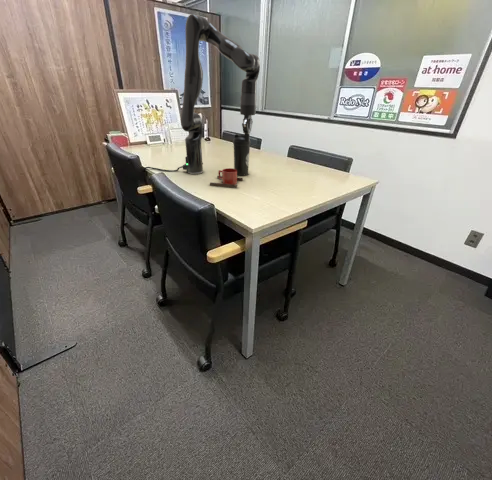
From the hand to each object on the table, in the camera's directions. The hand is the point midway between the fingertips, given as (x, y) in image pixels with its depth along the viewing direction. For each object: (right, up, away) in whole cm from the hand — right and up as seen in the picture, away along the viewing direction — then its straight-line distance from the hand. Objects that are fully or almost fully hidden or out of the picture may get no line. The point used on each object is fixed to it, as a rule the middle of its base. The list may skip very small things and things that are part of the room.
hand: (246, 141), depth 137 cm
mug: (-11, -19, +11) cm, 24 cm away
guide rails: (-11, -19, +10) cm, 25 cm away
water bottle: (-3, -11, +26) cm, 28 cm away
